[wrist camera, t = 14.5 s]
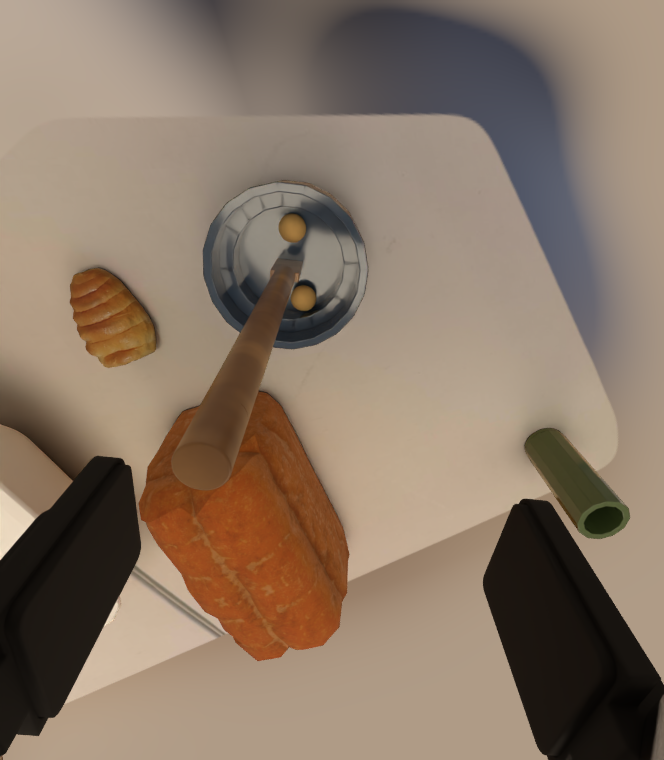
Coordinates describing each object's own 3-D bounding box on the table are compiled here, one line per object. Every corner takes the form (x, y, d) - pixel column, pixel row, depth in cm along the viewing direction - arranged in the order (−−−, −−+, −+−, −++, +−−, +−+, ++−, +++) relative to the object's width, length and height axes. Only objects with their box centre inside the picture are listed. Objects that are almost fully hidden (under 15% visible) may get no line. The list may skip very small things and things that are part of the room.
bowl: (372, 190, 37) (379, 194, 32) (352, 332, 43) (355, 356, 38) (219, 171, 36) (200, 171, 31) (220, 318, 42) (204, 340, 37)
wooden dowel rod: (303, 255, 39) (242, 447, 12) (301, 275, 40) (240, 494, 13) (277, 252, 39) (158, 438, 12) (276, 272, 40) (161, 487, 13)
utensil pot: (570, 429, 48) (638, 504, 38) (556, 461, 50) (617, 540, 40) (531, 426, 48) (589, 499, 37) (519, 458, 50) (570, 536, 39)
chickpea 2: (296, 278, 40) (318, 282, 39) (301, 298, 42) (322, 303, 41) (283, 293, 38) (305, 297, 37) (289, 313, 40) (310, 318, 39)
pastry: (60, 278, 40) (35, 288, 37) (122, 257, 40) (103, 265, 36) (111, 363, 44) (93, 379, 41) (168, 345, 44) (155, 360, 40)
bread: (272, 378, 45) (247, 467, 32) (354, 544, 57) (362, 661, 43) (159, 418, 48) (92, 516, 34) (260, 569, 59) (239, 689, 45)
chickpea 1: (307, 213, 37) (306, 216, 35) (305, 241, 38) (304, 246, 36) (280, 210, 37) (277, 213, 35) (279, 238, 38) (276, 242, 36)
